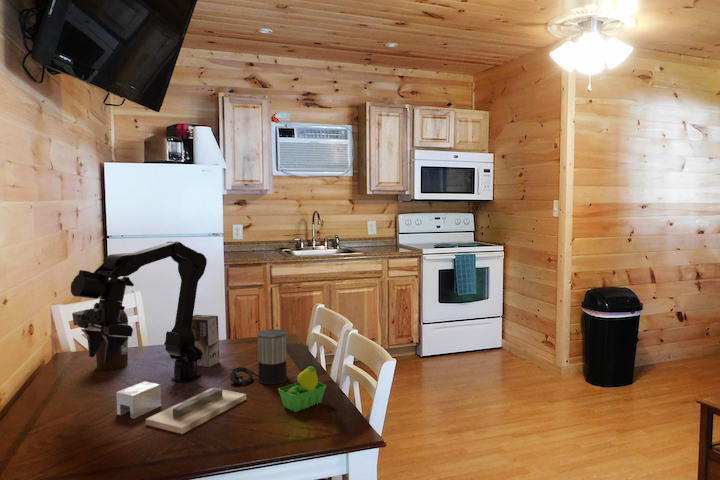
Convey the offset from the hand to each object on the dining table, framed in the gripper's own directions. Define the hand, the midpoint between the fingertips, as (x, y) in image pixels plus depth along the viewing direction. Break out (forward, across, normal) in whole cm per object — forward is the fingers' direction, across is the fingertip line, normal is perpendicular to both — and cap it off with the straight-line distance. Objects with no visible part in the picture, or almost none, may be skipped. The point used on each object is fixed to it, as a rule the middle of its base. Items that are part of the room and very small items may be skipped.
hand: (98, 359), depth 138 cm
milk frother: (+3, +14, +43) cm, 46 cm away
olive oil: (+7, -36, +22) cm, 42 cm away
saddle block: (+12, +8, +10) cm, 17 cm away
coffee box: (+2, -14, +42) cm, 44 cm away
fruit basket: (+5, +40, +39) cm, 56 cm away
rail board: (+10, +21, +19) cm, 30 cm away
